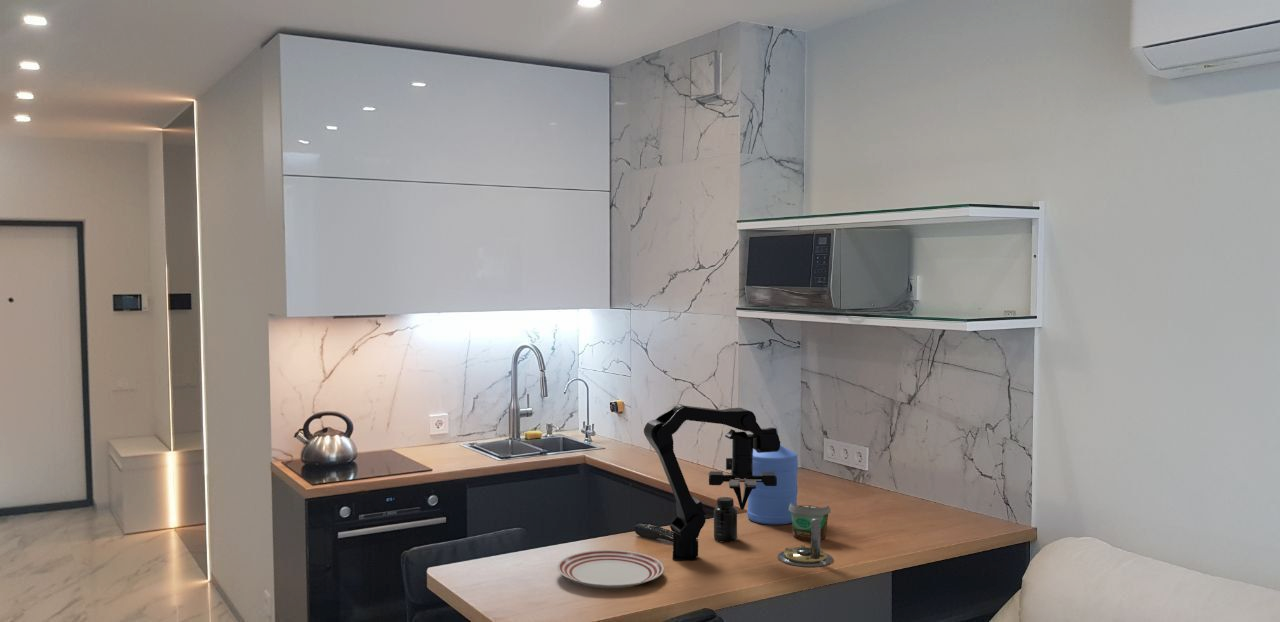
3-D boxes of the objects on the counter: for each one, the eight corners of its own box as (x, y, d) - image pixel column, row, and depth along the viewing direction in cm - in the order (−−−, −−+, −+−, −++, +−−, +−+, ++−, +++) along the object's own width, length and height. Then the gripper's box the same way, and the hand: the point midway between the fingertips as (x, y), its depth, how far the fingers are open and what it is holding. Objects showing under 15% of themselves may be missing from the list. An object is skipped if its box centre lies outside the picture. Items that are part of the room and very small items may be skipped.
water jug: (800, 526, 301) (801, 435, 300) (748, 525, 302) (749, 435, 301) (794, 513, 317) (795, 427, 316) (745, 512, 318) (746, 426, 316)
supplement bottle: (722, 534, 291) (722, 494, 291) (741, 538, 287) (742, 498, 286) (708, 539, 286) (709, 499, 285) (728, 544, 282) (728, 502, 281)
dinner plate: (685, 576, 253) (685, 564, 253) (612, 603, 233) (612, 590, 232) (608, 555, 271) (608, 543, 271) (534, 578, 251) (534, 565, 251)
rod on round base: (775, 554, 271) (775, 512, 270) (809, 548, 276) (809, 508, 275) (800, 565, 260) (801, 522, 260) (835, 559, 266) (836, 517, 265)
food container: (784, 540, 286) (784, 506, 285) (788, 534, 292) (789, 501, 291) (826, 544, 282) (827, 510, 281) (830, 539, 287) (830, 505, 287)
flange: (780, 566, 261) (780, 558, 261) (774, 550, 276) (775, 541, 276) (837, 567, 260) (837, 559, 260) (828, 550, 275) (828, 542, 275)
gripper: (773, 448, 281) (772, 502, 281) (708, 447, 281) (707, 501, 282) (777, 456, 270) (776, 512, 270) (709, 455, 270) (708, 511, 271)
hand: (742, 509), depth 274 cm, fingers closed
